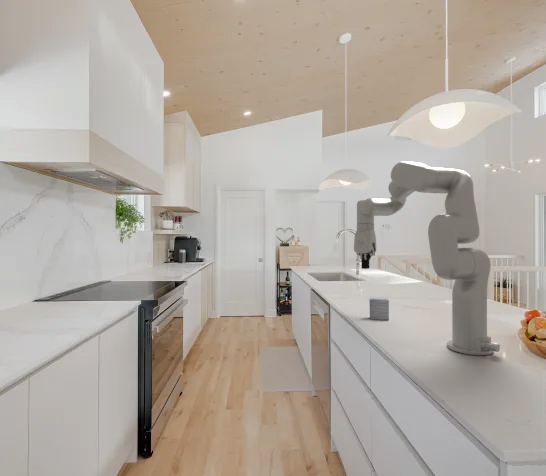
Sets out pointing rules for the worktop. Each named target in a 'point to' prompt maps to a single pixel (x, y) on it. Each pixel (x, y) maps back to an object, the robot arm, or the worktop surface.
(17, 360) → the worktop surface
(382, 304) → the medicine box
